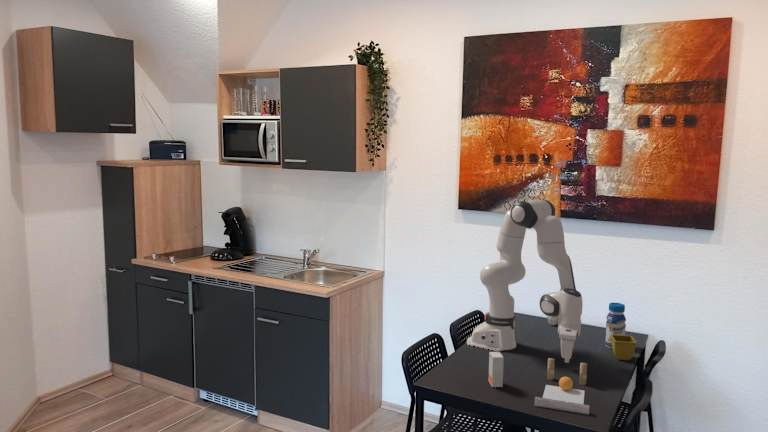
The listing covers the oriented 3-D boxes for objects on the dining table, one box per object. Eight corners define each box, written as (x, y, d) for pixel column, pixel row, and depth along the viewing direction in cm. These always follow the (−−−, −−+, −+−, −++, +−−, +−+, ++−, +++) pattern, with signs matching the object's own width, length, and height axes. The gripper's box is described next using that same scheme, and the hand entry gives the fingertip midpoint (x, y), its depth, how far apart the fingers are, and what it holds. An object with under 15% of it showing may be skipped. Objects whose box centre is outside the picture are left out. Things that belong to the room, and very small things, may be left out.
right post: (579, 384, 219) (580, 364, 218) (579, 382, 221) (580, 362, 220) (585, 385, 218) (587, 365, 217) (586, 383, 220) (587, 363, 219)
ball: (559, 373, 216) (559, 385, 217) (558, 380, 211) (558, 392, 212) (573, 374, 214) (573, 387, 215) (572, 381, 210) (572, 393, 211)
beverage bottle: (621, 344, 266) (623, 302, 264) (626, 350, 258) (629, 307, 256) (602, 343, 267) (604, 301, 265) (607, 349, 259) (610, 306, 256)
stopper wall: (534, 405, 200) (534, 398, 199) (535, 403, 202) (535, 396, 201) (588, 414, 193) (589, 407, 193) (589, 412, 195) (589, 405, 195)
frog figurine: (560, 327, 290) (561, 314, 289) (546, 326, 292) (546, 313, 291) (560, 324, 296) (561, 311, 295) (546, 322, 298) (547, 309, 297)
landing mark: (542, 399, 205) (542, 399, 205) (545, 385, 218) (545, 384, 218) (583, 406, 200) (583, 406, 200) (584, 391, 213) (584, 390, 213)
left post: (546, 379, 223) (547, 359, 222) (547, 377, 225) (548, 357, 224) (553, 380, 222) (554, 360, 221) (553, 378, 224) (554, 358, 224)
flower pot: (635, 362, 242) (636, 342, 241) (613, 361, 244) (614, 340, 243) (630, 355, 251) (632, 335, 250) (609, 354, 253) (611, 334, 252)
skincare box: (488, 381, 220) (489, 351, 219) (498, 381, 221) (500, 351, 219) (491, 388, 214) (492, 357, 213) (503, 387, 215) (504, 357, 213)
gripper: (563, 320, 243) (561, 351, 244) (559, 335, 224) (556, 368, 226) (578, 322, 240) (576, 354, 242) (575, 337, 221) (573, 371, 223)
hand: (566, 361), depth 234 cm, fingers closed
